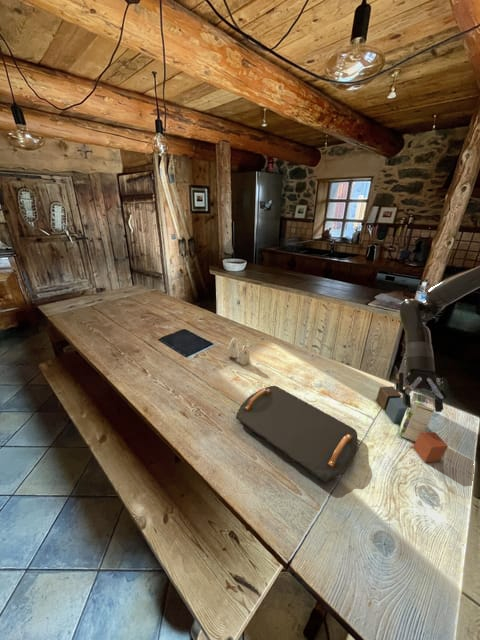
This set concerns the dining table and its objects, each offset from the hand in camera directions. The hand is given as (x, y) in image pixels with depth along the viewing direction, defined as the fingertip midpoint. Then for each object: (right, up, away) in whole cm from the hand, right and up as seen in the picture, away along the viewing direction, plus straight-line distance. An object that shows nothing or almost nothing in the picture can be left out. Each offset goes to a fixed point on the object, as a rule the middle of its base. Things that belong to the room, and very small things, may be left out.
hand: (423, 409), depth 81 cm
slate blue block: (-1, -7, +13) cm, 15 cm away
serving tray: (-38, -9, +7) cm, 40 cm away
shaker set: (-57, +8, +44) cm, 72 cm away
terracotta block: (+1, -14, 0) cm, 14 cm away
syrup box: (0, -10, +7) cm, 12 cm away
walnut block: (-1, -4, +19) cm, 19 cm away
